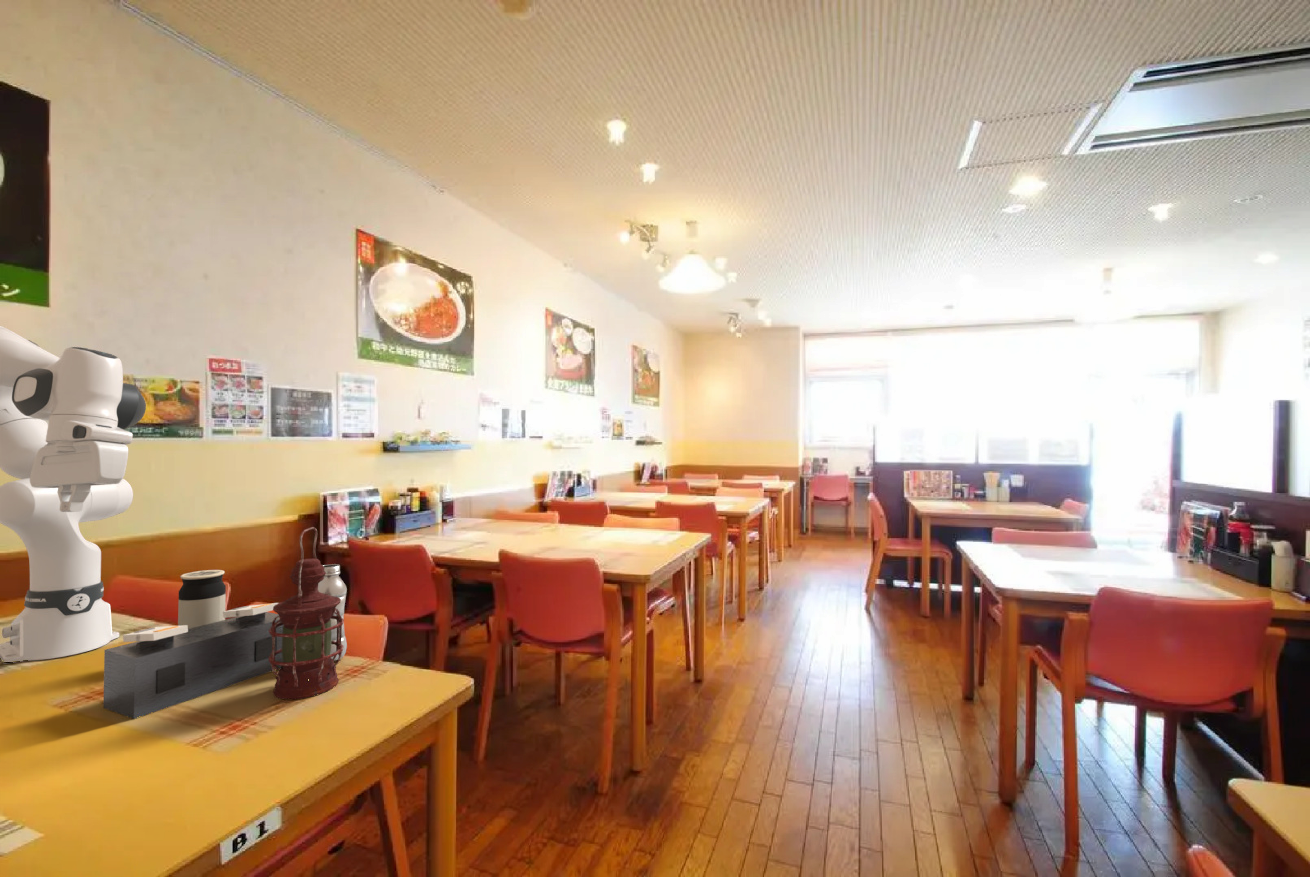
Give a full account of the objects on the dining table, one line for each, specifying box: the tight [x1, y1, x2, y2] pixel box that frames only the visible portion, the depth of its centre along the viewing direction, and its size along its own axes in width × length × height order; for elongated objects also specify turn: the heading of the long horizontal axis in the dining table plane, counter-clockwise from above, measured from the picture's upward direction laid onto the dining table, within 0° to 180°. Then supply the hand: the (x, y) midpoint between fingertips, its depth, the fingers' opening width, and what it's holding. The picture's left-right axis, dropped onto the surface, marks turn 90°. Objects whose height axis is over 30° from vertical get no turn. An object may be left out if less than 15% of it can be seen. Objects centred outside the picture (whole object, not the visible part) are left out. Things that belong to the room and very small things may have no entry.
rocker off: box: [223, 602, 279, 619], centre depth 115 cm, size 10×5×1 cm, turn 66°
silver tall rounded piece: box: [318, 563, 348, 662], centre depth 120 cm, size 6×7×20 cm
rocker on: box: [122, 625, 188, 643], centre depth 101 cm, size 10×5×1 cm, turn 66°
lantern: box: [269, 526, 345, 700], centre depth 107 cm, size 12×12×30 cm
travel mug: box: [177, 569, 227, 629], centre depth 122 cm, size 8×8×18 cm
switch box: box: [102, 611, 284, 720], centre depth 108 cm, size 10×26×11 cm, turn 156°
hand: (70, 511), depth 100 cm, fingers closed
